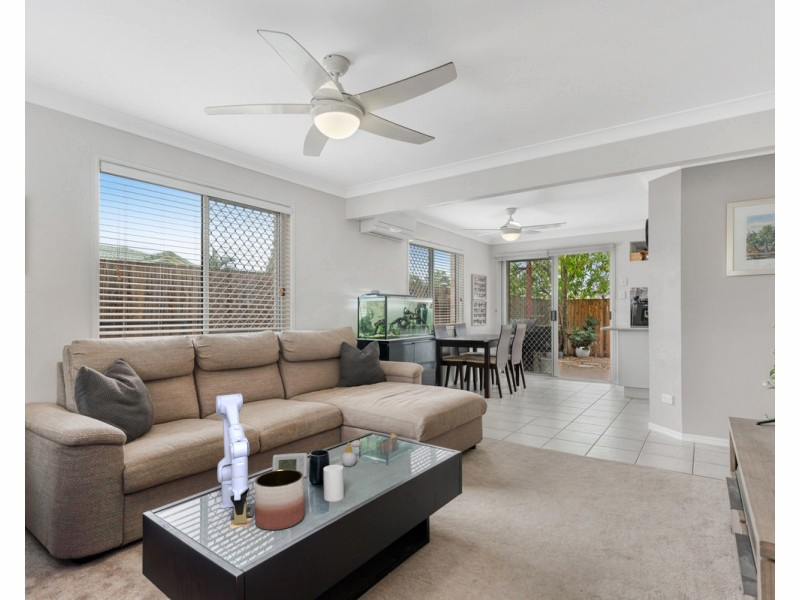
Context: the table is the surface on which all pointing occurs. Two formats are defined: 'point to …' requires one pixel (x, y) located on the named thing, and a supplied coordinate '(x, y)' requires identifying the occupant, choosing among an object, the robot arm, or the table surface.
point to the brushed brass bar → (241, 518)
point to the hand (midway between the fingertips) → (240, 511)
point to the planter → (279, 499)
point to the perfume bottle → (350, 454)
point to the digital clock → (291, 462)
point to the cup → (333, 483)
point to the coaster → (240, 524)
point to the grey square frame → (249, 509)
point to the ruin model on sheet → (389, 445)
